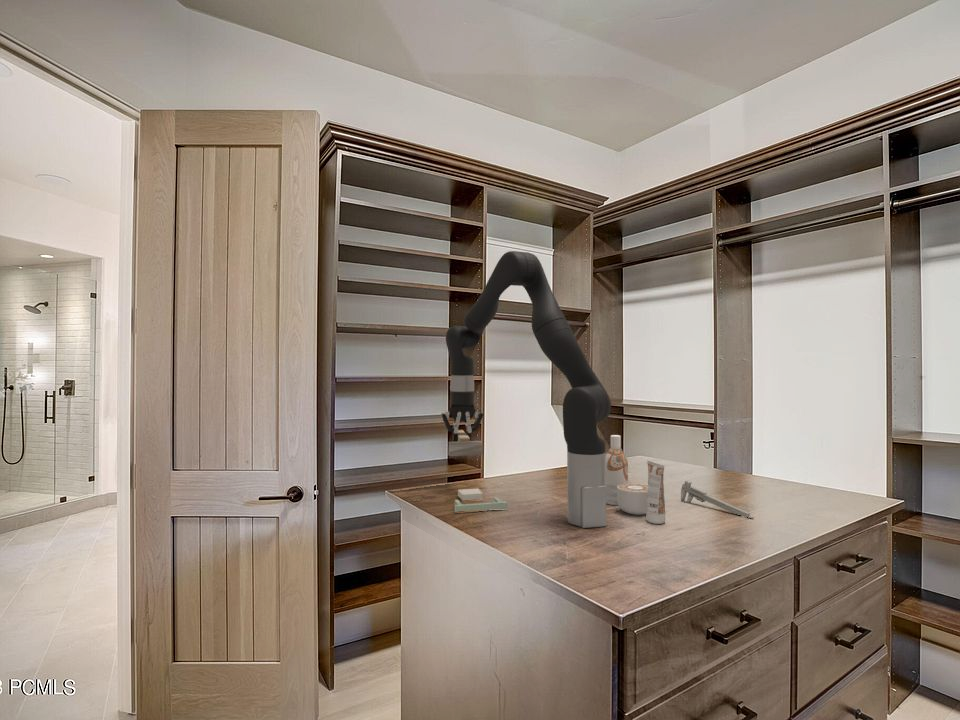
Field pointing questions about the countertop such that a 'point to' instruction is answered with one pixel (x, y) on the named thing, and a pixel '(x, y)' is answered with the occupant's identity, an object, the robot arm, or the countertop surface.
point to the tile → (470, 494)
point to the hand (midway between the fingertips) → (462, 444)
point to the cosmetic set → (634, 486)
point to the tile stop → (480, 505)
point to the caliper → (708, 499)
